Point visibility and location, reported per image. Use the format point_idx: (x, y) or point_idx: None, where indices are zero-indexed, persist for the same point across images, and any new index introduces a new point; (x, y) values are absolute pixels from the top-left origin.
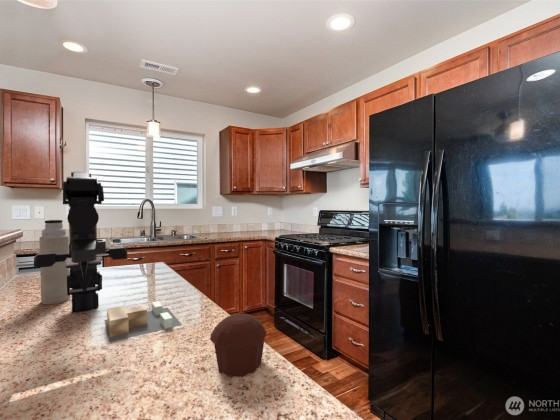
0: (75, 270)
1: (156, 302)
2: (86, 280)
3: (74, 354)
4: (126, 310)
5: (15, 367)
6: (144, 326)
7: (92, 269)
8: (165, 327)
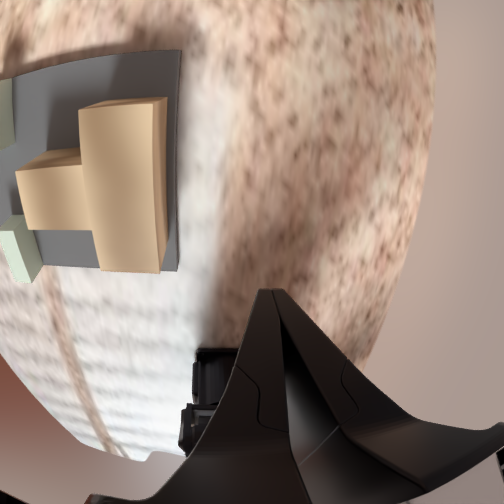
0: (409, 427)
1: (18, 273)
2: (271, 344)
3: (291, 57)
4: (84, 205)
5: (418, 101)
6: (55, 131)
7: (220, 447)
8: (7, 79)
